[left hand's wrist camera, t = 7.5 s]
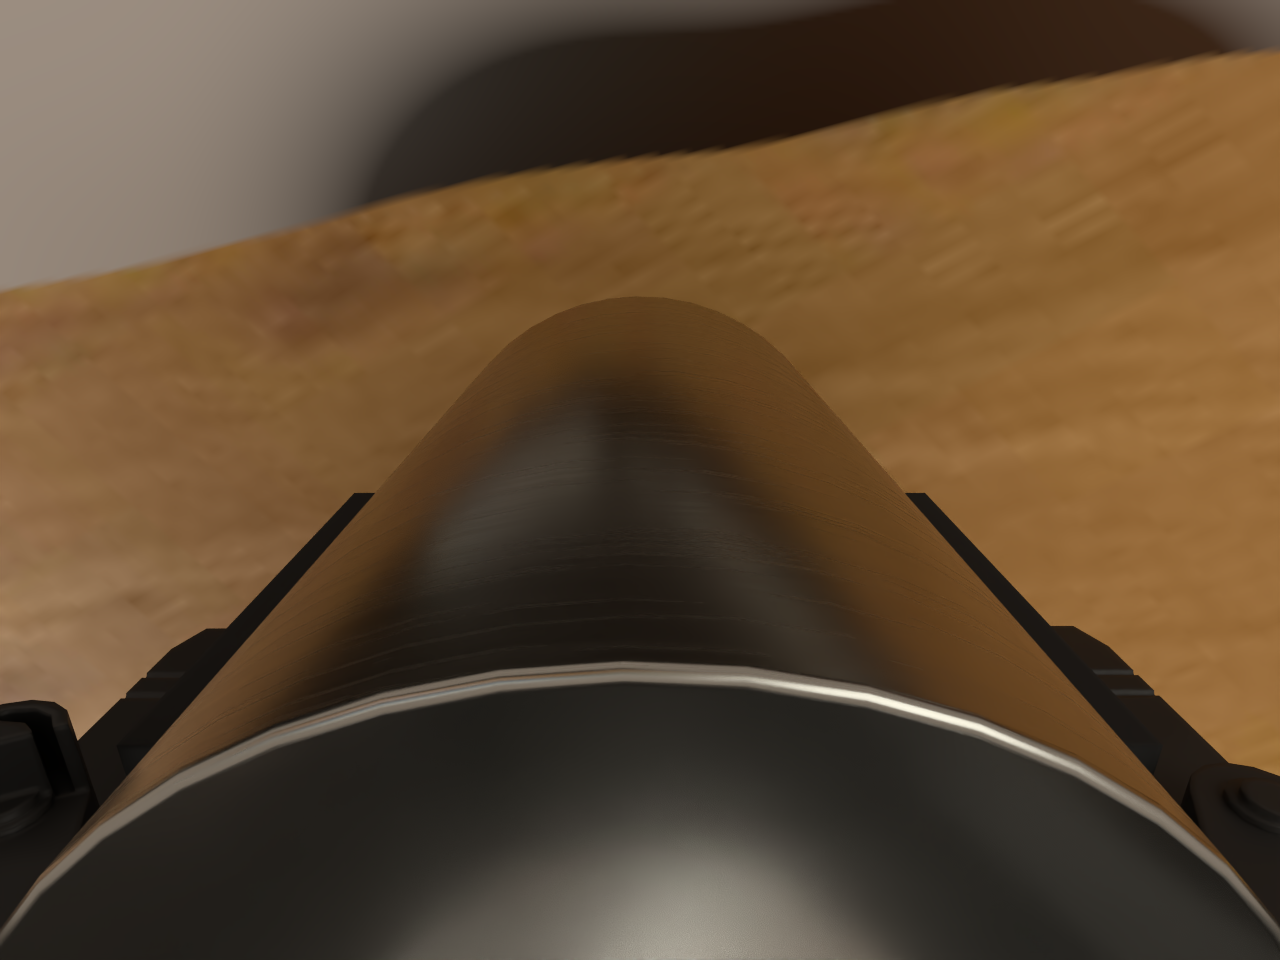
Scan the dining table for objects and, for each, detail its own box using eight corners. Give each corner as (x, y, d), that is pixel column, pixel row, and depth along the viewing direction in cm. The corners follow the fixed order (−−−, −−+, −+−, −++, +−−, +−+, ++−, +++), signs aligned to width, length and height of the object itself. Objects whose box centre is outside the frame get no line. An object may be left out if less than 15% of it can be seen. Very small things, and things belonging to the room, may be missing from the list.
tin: (753, 225, 15) (1233, 364, 3) (881, 579, 18) (1386, 1391, 6) (374, 395, 16) (-405, 992, 4) (551, 700, 19) (400, 1573, 7)
